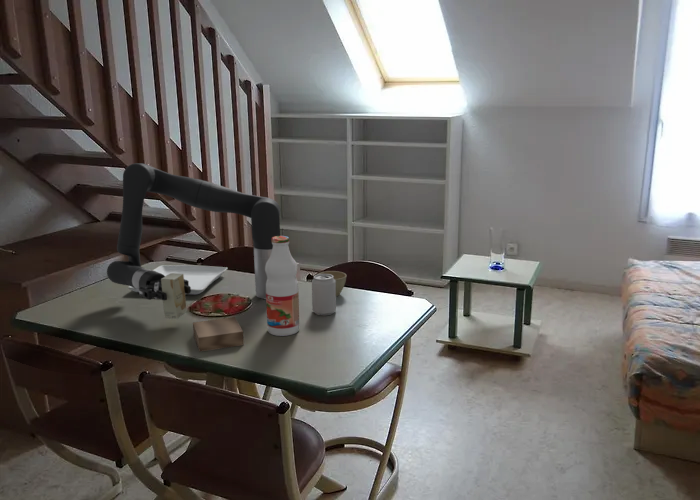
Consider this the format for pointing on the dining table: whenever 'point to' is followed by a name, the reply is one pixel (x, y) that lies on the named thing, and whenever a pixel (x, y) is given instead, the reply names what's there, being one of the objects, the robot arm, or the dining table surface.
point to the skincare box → (174, 295)
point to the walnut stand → (218, 334)
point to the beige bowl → (337, 280)
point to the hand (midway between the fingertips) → (177, 293)
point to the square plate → (192, 275)
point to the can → (323, 294)
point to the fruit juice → (282, 290)
